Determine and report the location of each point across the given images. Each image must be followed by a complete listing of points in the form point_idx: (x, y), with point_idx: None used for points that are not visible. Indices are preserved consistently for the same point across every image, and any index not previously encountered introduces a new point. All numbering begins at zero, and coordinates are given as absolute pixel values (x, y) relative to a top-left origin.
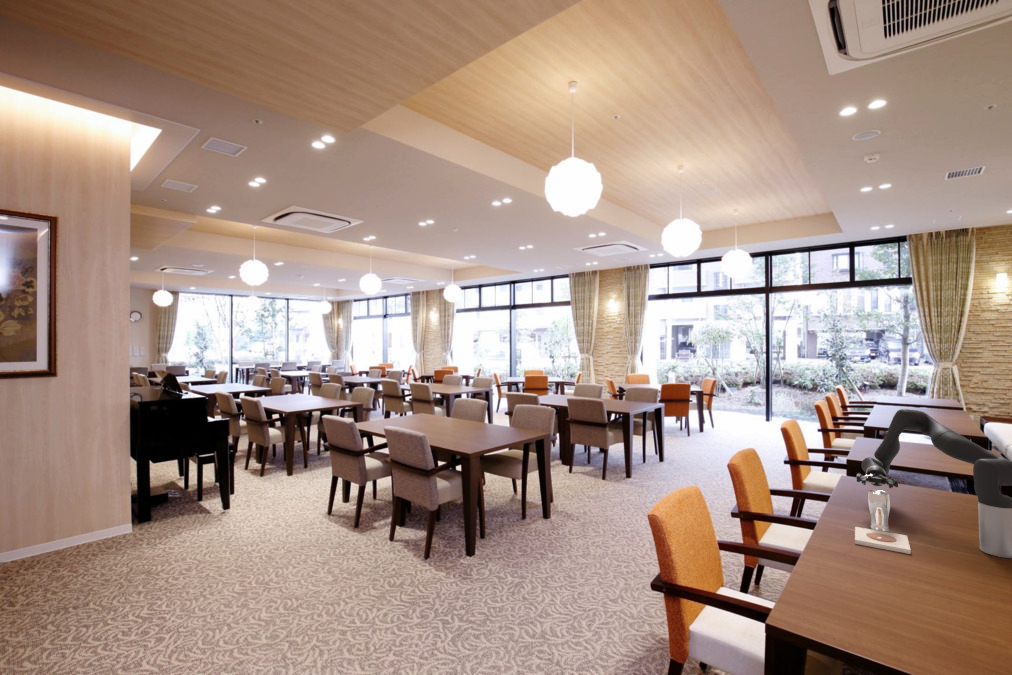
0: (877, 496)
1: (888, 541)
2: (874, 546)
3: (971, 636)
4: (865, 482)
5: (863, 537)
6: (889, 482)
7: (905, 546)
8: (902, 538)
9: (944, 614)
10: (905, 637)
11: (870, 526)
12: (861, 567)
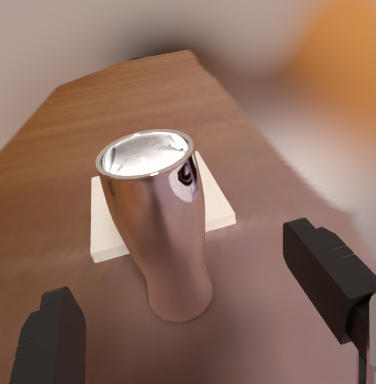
0: (148, 142)
1: None
2: None
3: (66, 94)
4: (285, 239)
5: None
6: (54, 316)
7: (100, 185)
8: (104, 222)
9: (79, 101)
10: (112, 75)
11: (210, 278)
12: (162, 113)
